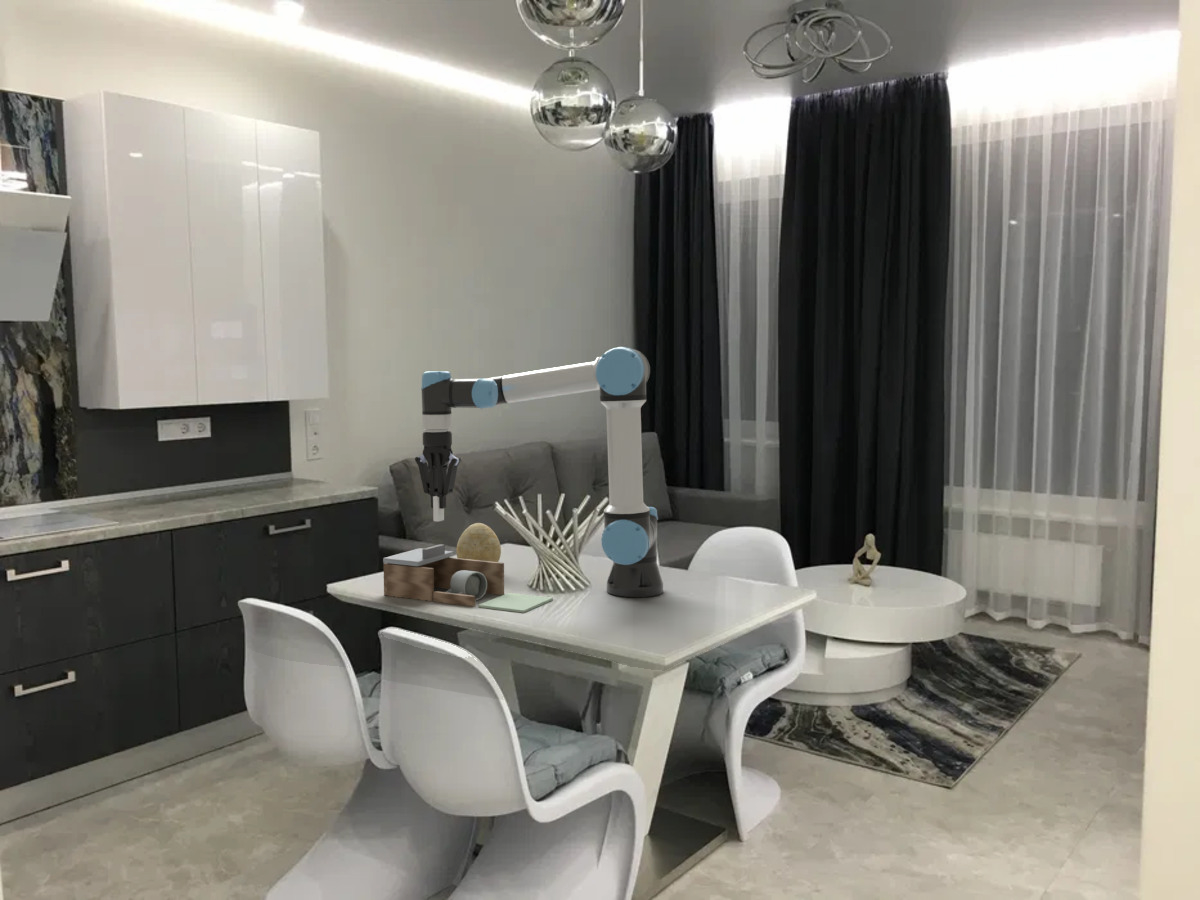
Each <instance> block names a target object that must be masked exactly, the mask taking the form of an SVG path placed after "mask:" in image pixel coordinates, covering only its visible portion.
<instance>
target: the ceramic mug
mask: <svg viewBox="0 0 1200 900" xmlns="http://www.w3.org/2000/svg"><path fill="white" fill-rule="evenodd" d="M486 590H487V580H486V578H485V576H484V575H483V574H482V573H480V572H476V571H467V570H462V571H458V572H456V573H455V574H454V575H453V576H452V577H451V580H450V589H448V590H446V591H445V592H447V593H455V594H464V595H472V596H475V602H476V601H479V600H480V599H482V598H483V597H484V595H486V593H485V592H486Z"/></svg>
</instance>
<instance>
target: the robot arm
mask: <svg viewBox="0 0 1200 900" xmlns="http://www.w3.org/2000/svg"><path fill="white" fill-rule="evenodd" d="M650 374H651V366H650V363H649V360H648V359H647V357H646V356H645V355H644V354H643V353H642V352H641V351H639V350H637V349H635V348H632V347H628V346H618V347H617V346H616V347H613V348H610V349H608V350H607V351H605V352H604V353H603V354H601V356H597V357H596V359H595V360H594V361H588V362H582V363H581V362H580V363H576V364H568V365H563V366H556V367H550V368H543V369H538V370H537V369H536V370H532V371H526V372H519V373H518V372H517V373H513V374H507V375H506V374H505V375H501V376H492V377H485V378H484V377H481V378H452V374H451V372H450V371H446V370H445V371H441V370H439V371H434V370H433V371H432V370H431V371H425V372H423V374H422V375H421V388H420V389H421V409H422V412H421V414H422V415H421V417H422V419H421V420H422V421H421V422H422V423H421V424H422V425H421V426H422V427H421V428H422V430H424V431H423V432H422V445H423V450H422V454H421V455H419V456H415V457H414V460H415V462H416V464H417V467H418V470H419V476H420V479H421V484H422V489H423V492H424V494H427V495H429V496H430V508H431V509H433V510H432V513H433V514H432V515H433V517H432V518H433V522H443V521H445V509H446V508H447V496H448V495H450V494H453V492H454V486H455V482H456V476H457V472H458V471H457V470H458V467H459V465H460V463H461V462H462V461H461V457H456V456H455V454H453V450H452V444H453V433H452V431H450V430H451V429H452V427H453V426H452V409H456V408H462V409H480V410H481V409H482V410H483V409H491V408H494V407H496V406H498V405H505V404H510V403H511V404H512V403H516V402H517V403H518V402H524V401H531V400H538V399H545V398H551V397H559V396H565V395H573V394H579V393H587V392H593V391H599V402H600V404H601V405H602V406H603V407H605V409H606V411H605V412H606V437H607V438H606V439H607V440H606V441H607V466H608V467H607V469H608V471H607V473H608V497H609V498H608V499H609V501H608V505H607V506H606V507H605V508H604V509H603V531H602V534H601V539H600V542H601V548H602V551H603V552H604V554H605V556H606V557H607V558H608V559H610V561H612V566H611V568H610V572H609V574H608V578H607V581H606V592H607V593H608V594H610V595H614V596H618V597H625V598H645V597H646V598H647V597H648V598H649V597H655V596H658V595H661V594H662V593H663V592H664V582H663V579H662V578H663V577H662V576H661V572H660V570H659V566H658V558H657V557H658V520H659V516H658V510H657V508H656V507H654V506H647V505H646V503H645V502H644V486H643V485H644V479H643V477H644V475H643V446H642V419H641V418H642V414H641V410H642V409H641V408H642V406H644V404H645V403H646V402H647V383H648V380H649V378H650ZM448 463H449V464H448Z"/></svg>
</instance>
